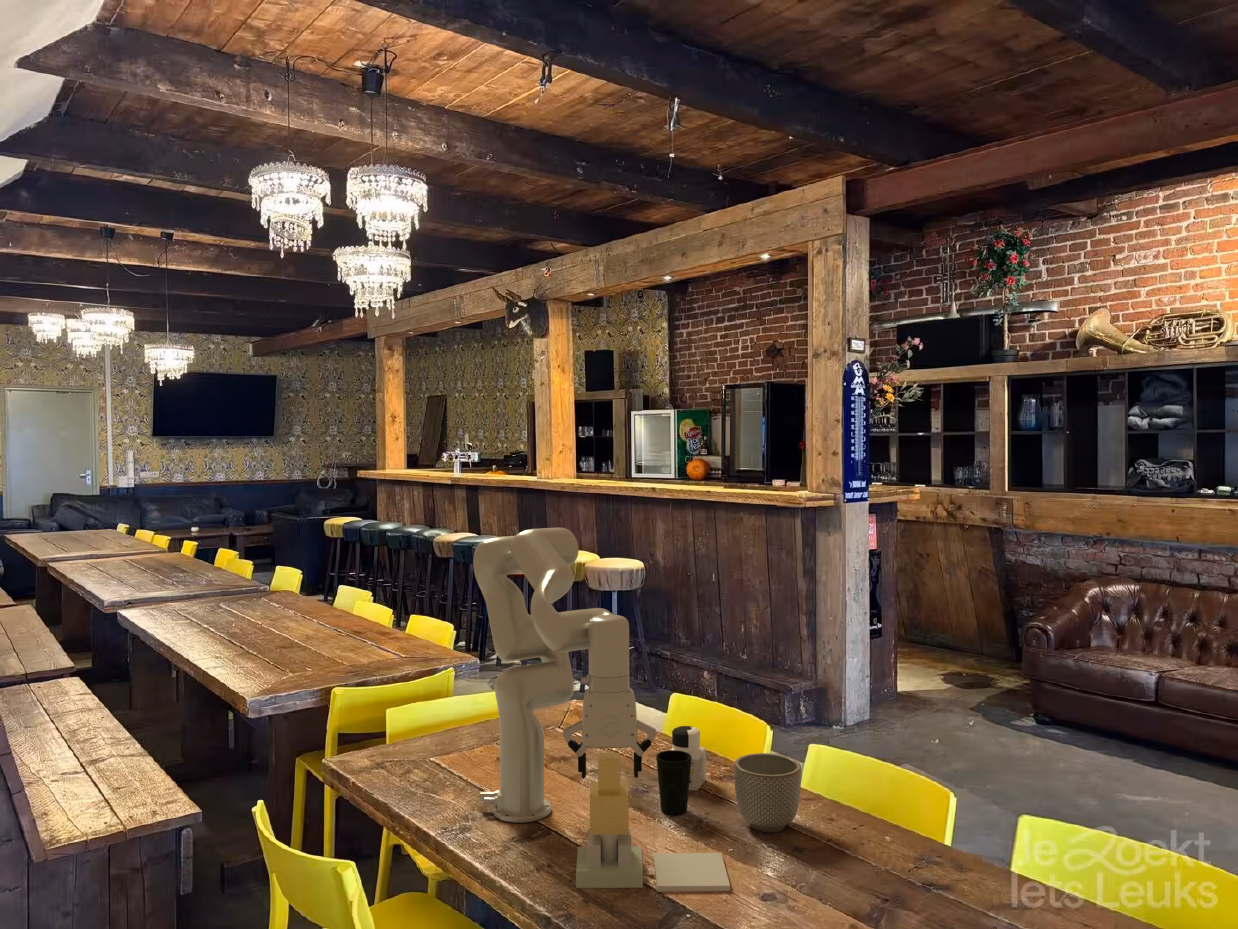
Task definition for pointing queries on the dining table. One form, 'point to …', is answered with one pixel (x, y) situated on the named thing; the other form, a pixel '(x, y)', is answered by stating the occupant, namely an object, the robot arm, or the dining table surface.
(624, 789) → the stepped wooden tower
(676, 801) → the cup
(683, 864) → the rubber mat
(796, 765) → the planter
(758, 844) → the dining table surface
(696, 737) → the container
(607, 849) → the vise
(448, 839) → the dining table surface
